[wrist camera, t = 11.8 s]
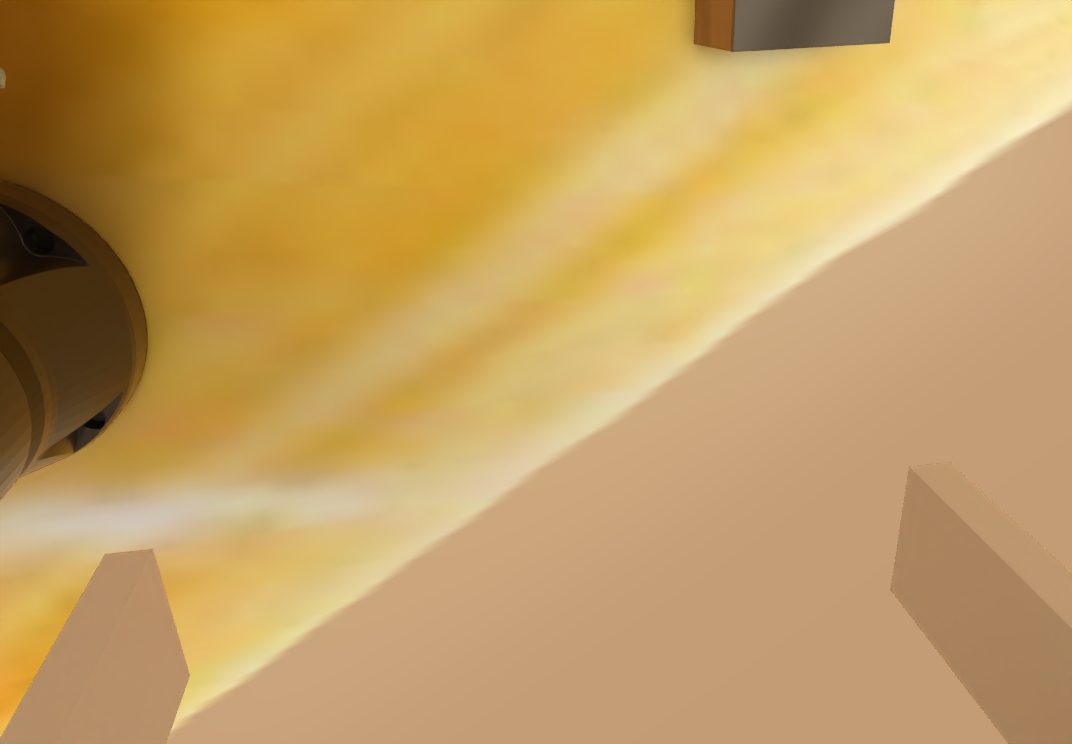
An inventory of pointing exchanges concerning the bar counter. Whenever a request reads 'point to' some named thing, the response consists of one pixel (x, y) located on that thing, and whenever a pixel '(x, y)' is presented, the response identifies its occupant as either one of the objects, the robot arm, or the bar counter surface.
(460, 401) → the bar counter surface
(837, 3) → the brown wooden block
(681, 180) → the bar counter surface
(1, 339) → the robot arm
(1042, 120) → the bar counter surface
